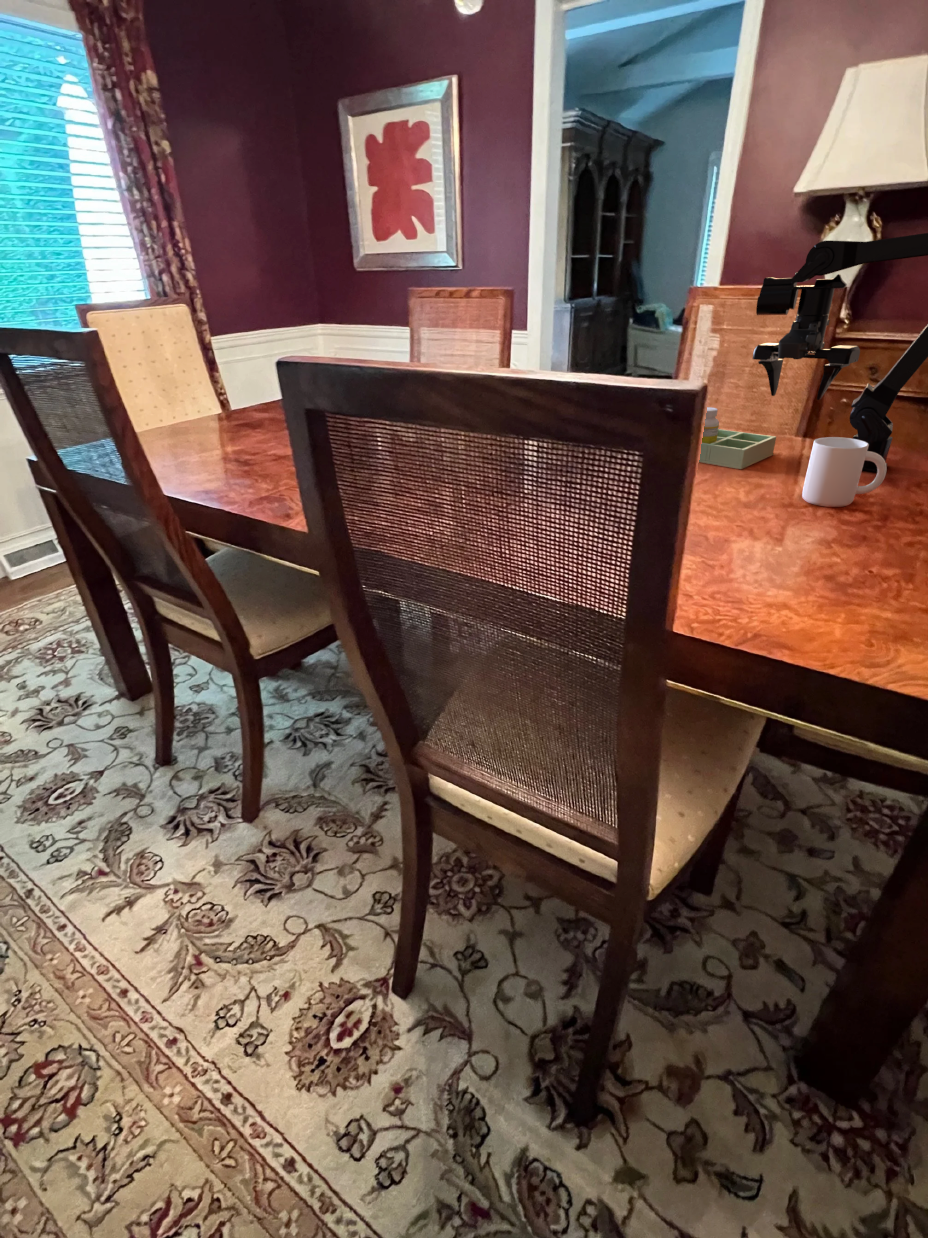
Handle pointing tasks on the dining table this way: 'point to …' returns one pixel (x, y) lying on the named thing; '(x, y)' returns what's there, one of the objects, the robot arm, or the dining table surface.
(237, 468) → the dining table surface
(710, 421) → the supplement bottle
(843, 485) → the mug
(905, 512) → the dining table surface
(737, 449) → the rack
